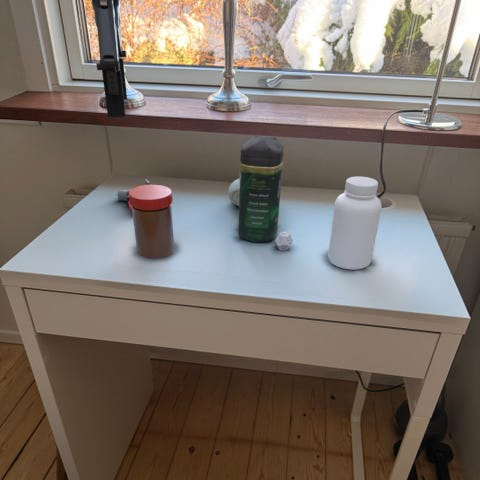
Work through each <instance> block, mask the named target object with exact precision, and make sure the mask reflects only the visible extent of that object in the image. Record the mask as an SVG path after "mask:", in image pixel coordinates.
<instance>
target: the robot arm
mask: <svg viewBox="0 0 480 480" xmlns="http://www.w3.org/2000/svg"><path fill="white" fill-rule="evenodd" d="M91 6H92V10H93V13H94V14H93V15H94V23H95V27H96V30H97V42H98V51H99V62H96V63H95V64H96V71H101V74H102V81H103V91H104V98H105V104H106V110H107V111H106V113H107V114H106V115H107V118H125V117H127V115H126V106H125V101H127V100H128V95H127V85H126V83H127V82H126V75H125V65H124V58H127V50H123V46H122V40H121V31H120V25H121V13H120V11H121V1H120V0H91Z"/></svg>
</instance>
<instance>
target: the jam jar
mask: <svg viewBox="0 0 480 480" xmlns="http://www.w3.org/2000/svg"><path fill="white" fill-rule="evenodd" d="M131 213H132V221H133V229H134V236H135V237H134V238H135V245H136V253H137V254H138V255H139V257H142V258H145V259H163V258H166V257H168V256H170V255H172V254H173V253H174V251H175V239H174V238H175V237H174V224H173V223H174V222H173V210H172V204H170V205H169V206H167V207H165V208H162V209H157V210H141V209H137V208H134V207H133V206H132V211H131Z"/></svg>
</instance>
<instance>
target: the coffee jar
mask: <svg viewBox="0 0 480 480" xmlns="http://www.w3.org/2000/svg"><path fill="white" fill-rule="evenodd" d="M284 148H285V147H284V144H283V143H282V142H281V141H280V140H278V139H277V138H276V137H274V136H265V135H264V136H262V135H255V136H254V137H252V138H250V139H248V140H247V141H245V142H244V143H243V145H242V146H241V148H240V150H239V151H240V158H239V178H240V193H239V206H238V220H237V221H238V222H237V223H238V225H237V234H238V236H239V237H240V238H241V239H243V240H246V241H248V242H252V243H261V242H270V241H272V240H273V239H274V238H276V235H277V232H278V228H279V227H278V226H279V214H280V204H281V192H282V183H283V182H282V181H283V180H282V179H283V166H284V165H283V164H284Z"/></svg>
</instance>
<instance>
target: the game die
mask: <svg viewBox="0 0 480 480" xmlns="http://www.w3.org/2000/svg"><path fill="white" fill-rule="evenodd" d="M293 242H294V239H293V237H292V235H291V234H290V233H289V231H280V232H279V233H278V235H277V236H276V237H275V239H274V244H275V245H276V247H277V249H278V250H279V251H288V250H289V248H290V247H291V246H292V244H293Z"/></svg>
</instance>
